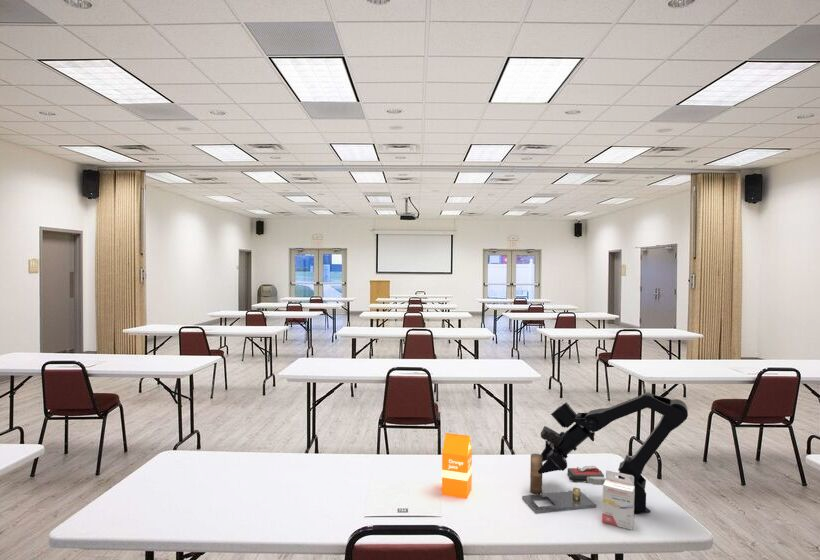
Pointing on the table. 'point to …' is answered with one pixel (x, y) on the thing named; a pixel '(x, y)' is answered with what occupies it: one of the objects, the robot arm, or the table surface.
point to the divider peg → (536, 474)
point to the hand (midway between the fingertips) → (538, 467)
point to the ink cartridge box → (618, 500)
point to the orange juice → (457, 466)
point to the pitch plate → (560, 501)
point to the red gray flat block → (586, 474)
